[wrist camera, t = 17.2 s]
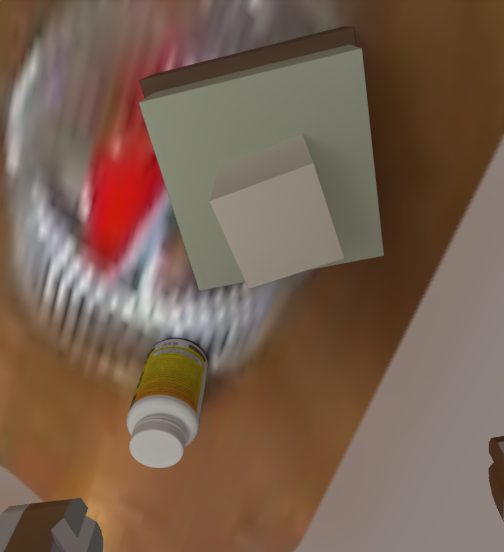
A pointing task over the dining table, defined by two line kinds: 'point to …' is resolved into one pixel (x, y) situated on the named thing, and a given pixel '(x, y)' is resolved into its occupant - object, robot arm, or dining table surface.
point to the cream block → (275, 213)
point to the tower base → (248, 59)
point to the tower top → (261, 134)
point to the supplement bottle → (167, 403)
